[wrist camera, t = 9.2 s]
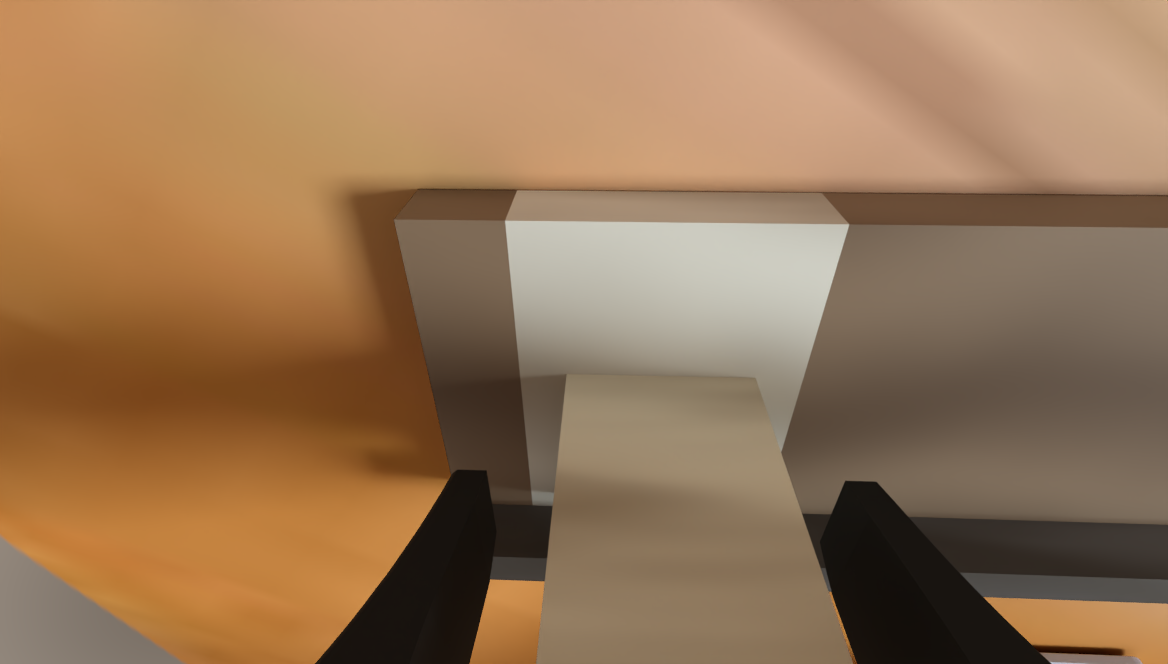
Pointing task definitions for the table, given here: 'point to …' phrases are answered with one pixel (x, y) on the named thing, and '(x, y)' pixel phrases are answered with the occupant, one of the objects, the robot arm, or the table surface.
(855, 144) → the table surface
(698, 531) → the block
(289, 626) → the table surface
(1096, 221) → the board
